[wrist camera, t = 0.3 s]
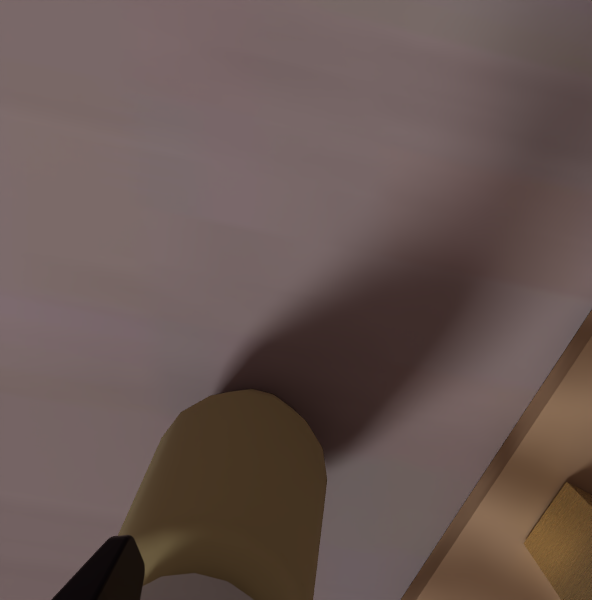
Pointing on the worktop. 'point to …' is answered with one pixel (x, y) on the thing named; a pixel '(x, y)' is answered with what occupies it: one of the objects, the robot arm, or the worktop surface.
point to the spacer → (565, 543)
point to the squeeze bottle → (231, 503)
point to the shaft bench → (518, 492)
